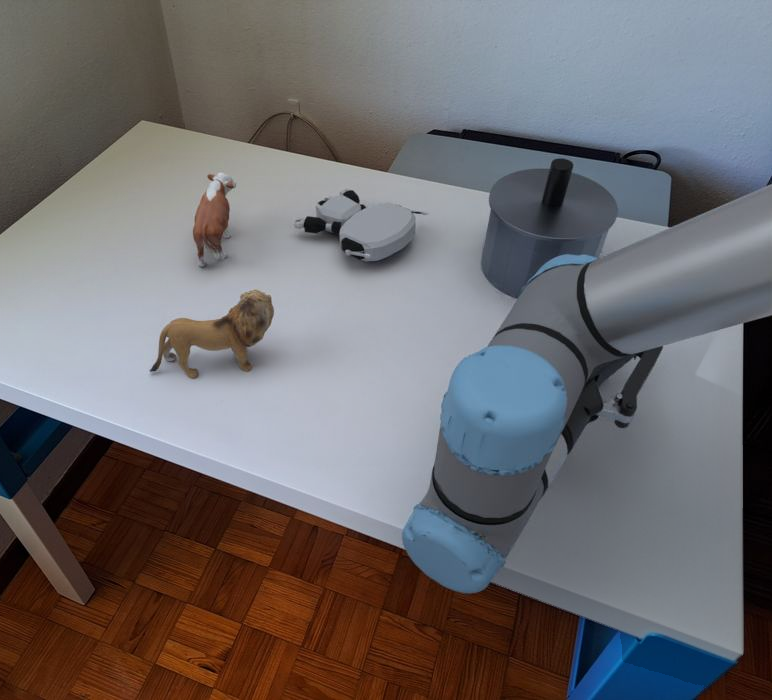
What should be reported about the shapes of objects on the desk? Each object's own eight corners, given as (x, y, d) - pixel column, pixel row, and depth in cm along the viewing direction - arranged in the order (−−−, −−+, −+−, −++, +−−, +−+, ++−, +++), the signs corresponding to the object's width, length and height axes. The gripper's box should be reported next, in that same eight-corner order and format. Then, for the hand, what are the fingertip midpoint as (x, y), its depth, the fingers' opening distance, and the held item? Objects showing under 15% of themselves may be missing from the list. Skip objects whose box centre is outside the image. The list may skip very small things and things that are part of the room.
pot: (607, 259, 88) (629, 196, 82) (563, 318, 81) (584, 254, 74) (510, 223, 95) (523, 162, 88) (462, 275, 87) (472, 213, 80)
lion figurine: (272, 333, 81) (267, 275, 75) (282, 365, 77) (277, 306, 71) (148, 359, 79) (131, 301, 72) (153, 393, 75) (135, 335, 69)
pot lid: (633, 200, 82) (650, 154, 78) (585, 263, 74) (601, 216, 70) (520, 163, 89) (530, 119, 84) (465, 218, 81) (473, 172, 76)
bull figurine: (245, 216, 98) (239, 165, 92) (221, 276, 89) (213, 224, 83) (215, 214, 99) (207, 163, 93) (189, 273, 89) (179, 221, 84)
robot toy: (289, 242, 95) (373, 282, 86) (285, 214, 92) (372, 253, 83) (347, 204, 101) (431, 238, 92) (346, 176, 97) (432, 209, 89)
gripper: (433, 412, 66) (536, 284, 79) (617, 509, 58) (699, 349, 71) (441, 359, 61) (551, 230, 73) (645, 458, 53) (729, 294, 65)
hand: (624, 289), depth 72 cm, fingers closed on pepper mill, 5 cm apart
